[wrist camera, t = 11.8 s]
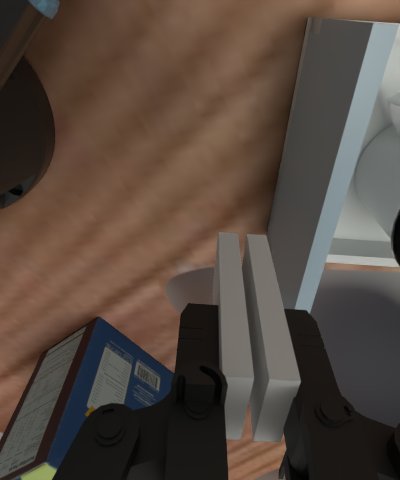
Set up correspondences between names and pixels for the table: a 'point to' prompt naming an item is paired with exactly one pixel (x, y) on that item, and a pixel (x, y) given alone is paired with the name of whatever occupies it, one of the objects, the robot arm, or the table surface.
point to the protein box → (76, 396)
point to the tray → (332, 154)
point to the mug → (383, 177)
